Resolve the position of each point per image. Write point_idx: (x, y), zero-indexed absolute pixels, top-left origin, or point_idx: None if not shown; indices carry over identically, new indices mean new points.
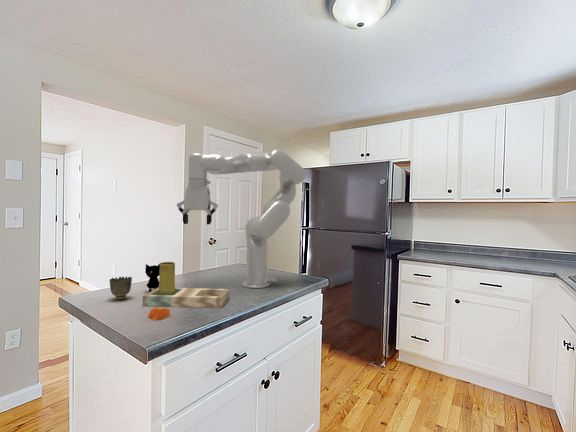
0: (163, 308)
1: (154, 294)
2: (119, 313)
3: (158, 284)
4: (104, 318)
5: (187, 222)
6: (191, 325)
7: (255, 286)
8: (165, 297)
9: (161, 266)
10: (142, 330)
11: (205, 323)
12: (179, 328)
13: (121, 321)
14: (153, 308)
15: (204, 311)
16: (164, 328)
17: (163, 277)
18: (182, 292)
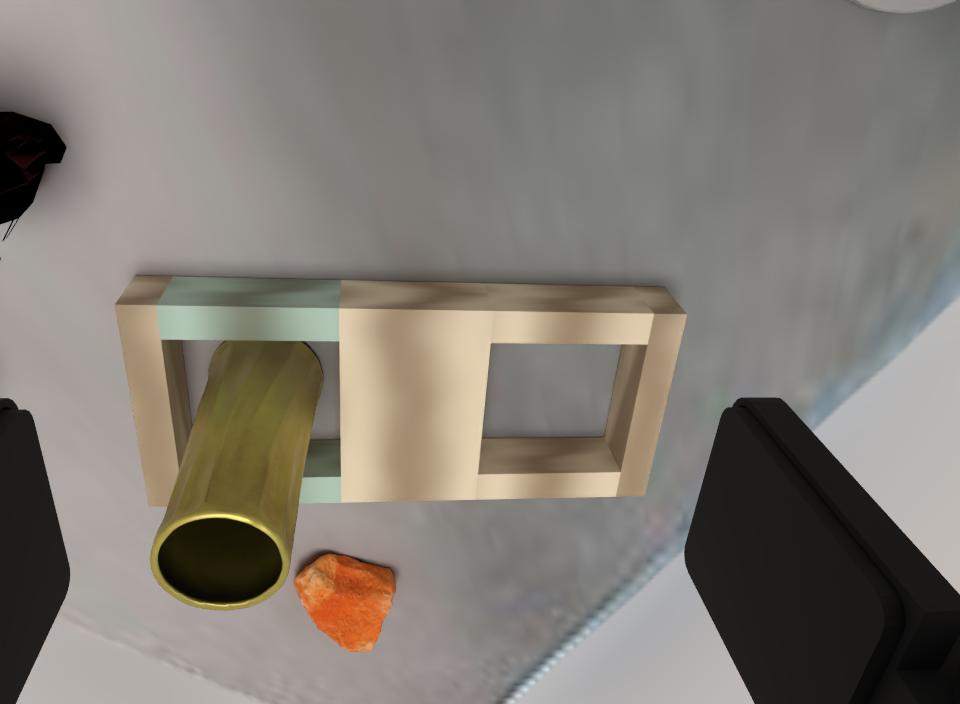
0: (376, 628)
1: (176, 419)
2: (121, 568)
3: (31, 181)
4: (100, 622)
5: (25, 469)
6: (525, 640)
7: (900, 12)
8: (304, 499)
9: (198, 589)
10: (354, 690)
11: (576, 620)
12: (487, 664)
13: (209, 639)
14: (312, 603)
15: (546, 509)
16: (430, 670)
17: (237, 528)
18: (374, 416)
